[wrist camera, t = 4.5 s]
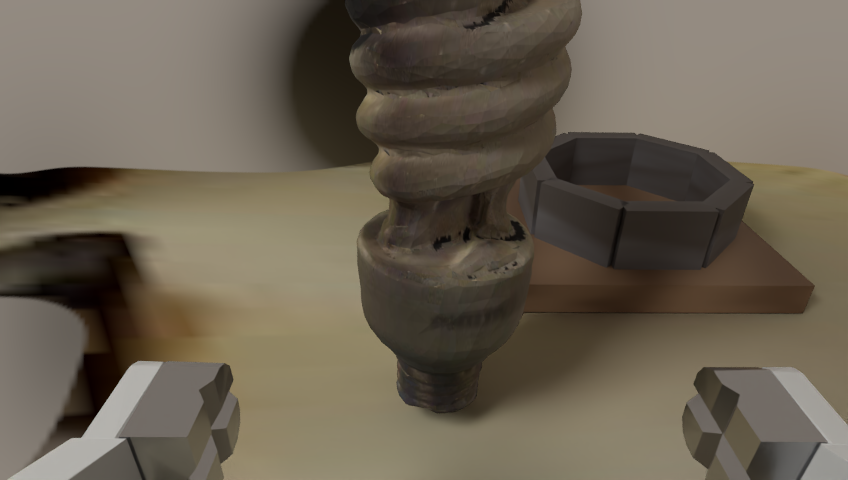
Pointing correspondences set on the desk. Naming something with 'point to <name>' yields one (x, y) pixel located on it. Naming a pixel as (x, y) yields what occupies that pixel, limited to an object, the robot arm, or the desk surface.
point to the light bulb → (453, 175)
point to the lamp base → (646, 231)
